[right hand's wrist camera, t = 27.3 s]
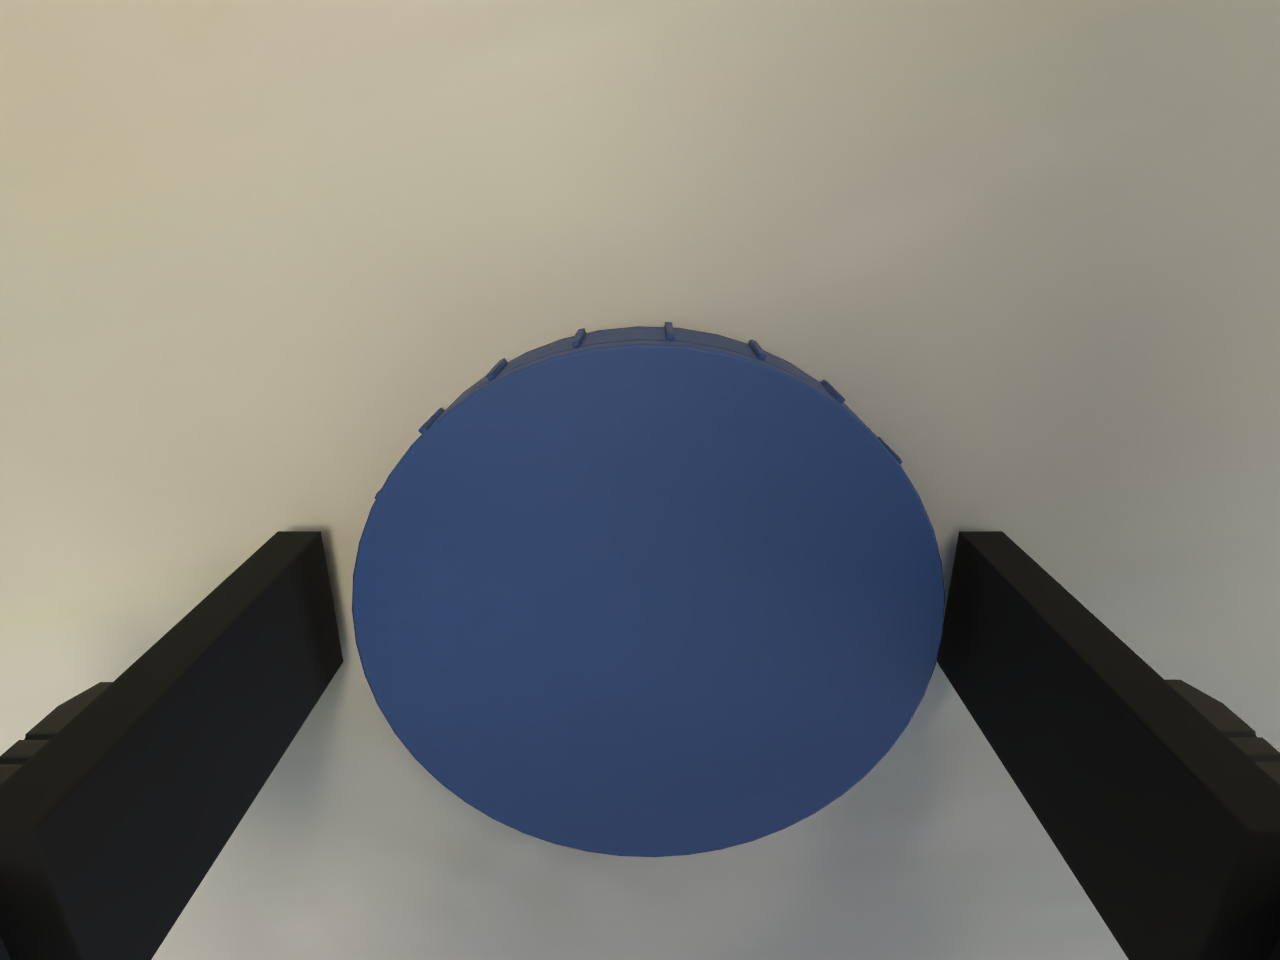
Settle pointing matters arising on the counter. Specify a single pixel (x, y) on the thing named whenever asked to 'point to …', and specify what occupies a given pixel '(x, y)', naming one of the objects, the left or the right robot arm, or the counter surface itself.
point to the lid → (648, 594)
